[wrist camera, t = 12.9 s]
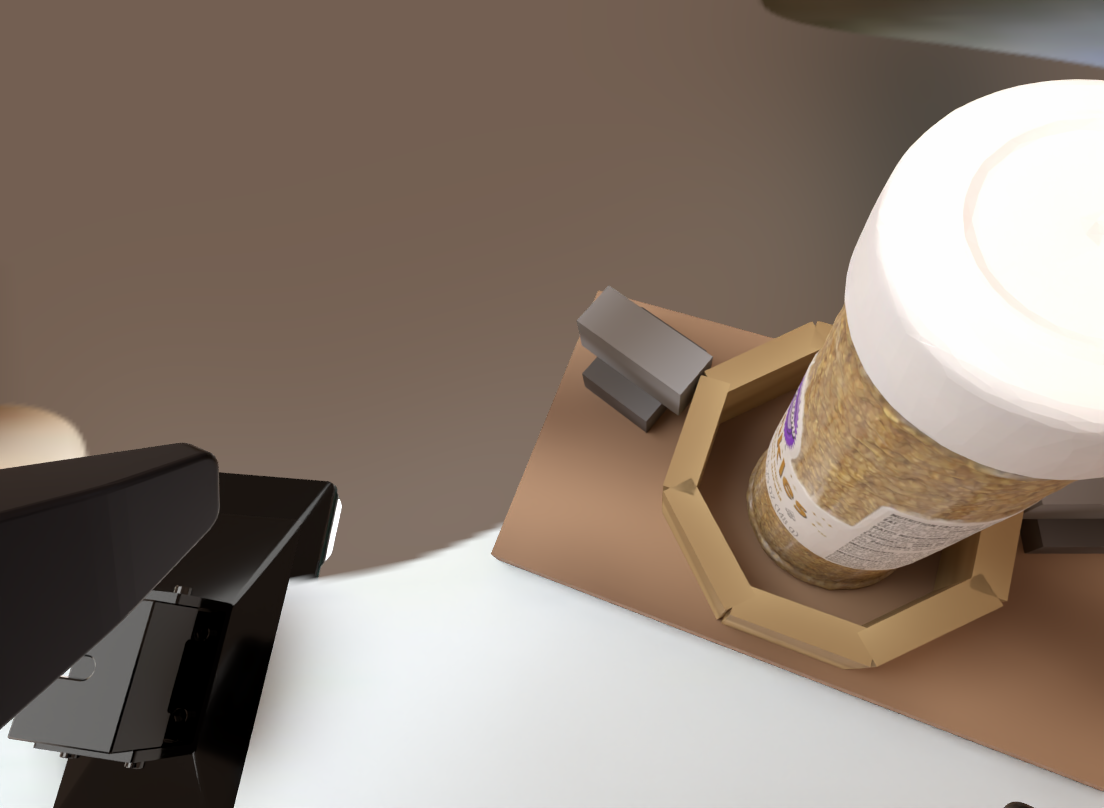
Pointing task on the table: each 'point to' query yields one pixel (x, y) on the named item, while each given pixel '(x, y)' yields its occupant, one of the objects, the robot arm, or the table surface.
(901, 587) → the stand
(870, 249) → the sprinkles bottle
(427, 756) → the table surface
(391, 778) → the table surface
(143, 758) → the black angular block
